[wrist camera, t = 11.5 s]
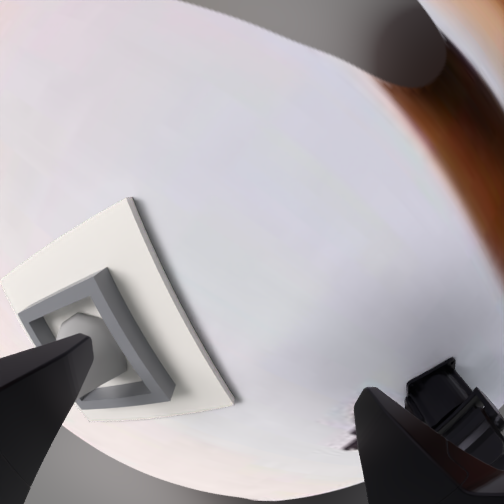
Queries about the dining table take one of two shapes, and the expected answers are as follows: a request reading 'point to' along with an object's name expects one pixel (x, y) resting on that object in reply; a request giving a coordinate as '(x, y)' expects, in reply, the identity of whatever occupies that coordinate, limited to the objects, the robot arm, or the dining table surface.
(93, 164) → the dining table surface
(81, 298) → the collar board
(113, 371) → the flask
